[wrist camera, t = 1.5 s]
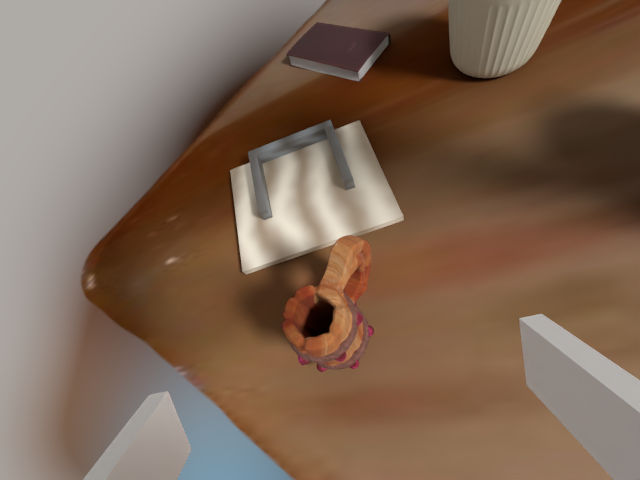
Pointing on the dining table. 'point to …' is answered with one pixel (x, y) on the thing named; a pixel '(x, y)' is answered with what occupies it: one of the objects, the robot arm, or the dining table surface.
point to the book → (338, 50)
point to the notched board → (309, 194)
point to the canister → (496, 34)
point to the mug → (332, 310)
